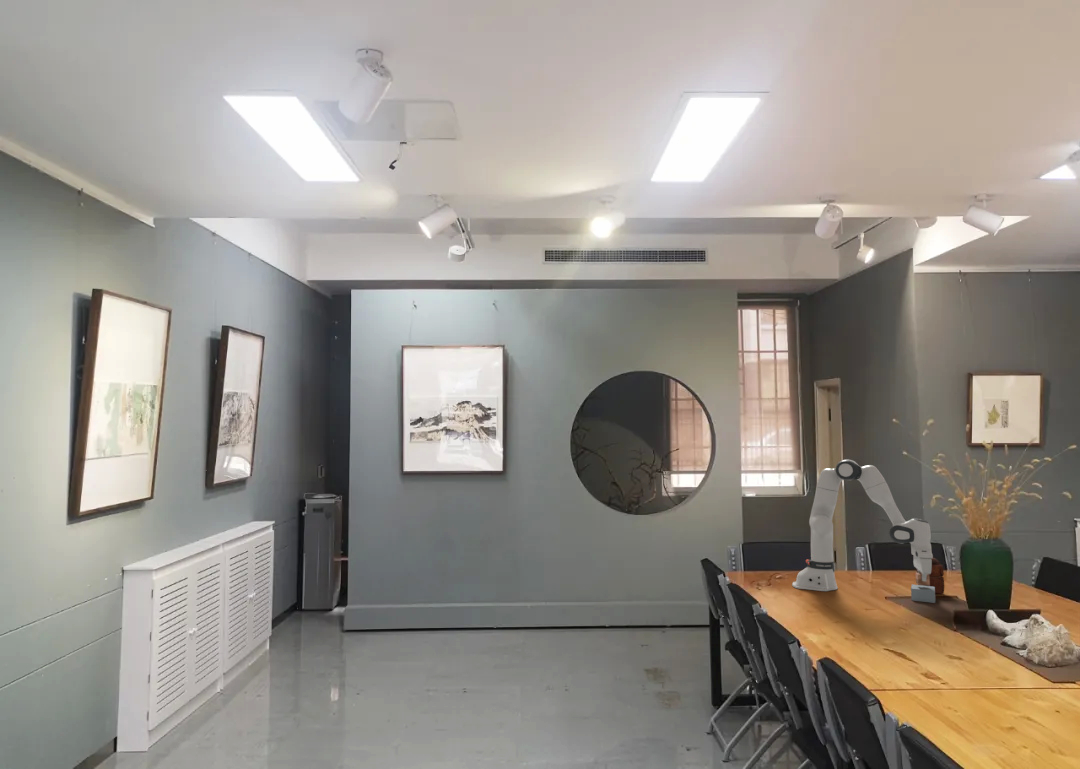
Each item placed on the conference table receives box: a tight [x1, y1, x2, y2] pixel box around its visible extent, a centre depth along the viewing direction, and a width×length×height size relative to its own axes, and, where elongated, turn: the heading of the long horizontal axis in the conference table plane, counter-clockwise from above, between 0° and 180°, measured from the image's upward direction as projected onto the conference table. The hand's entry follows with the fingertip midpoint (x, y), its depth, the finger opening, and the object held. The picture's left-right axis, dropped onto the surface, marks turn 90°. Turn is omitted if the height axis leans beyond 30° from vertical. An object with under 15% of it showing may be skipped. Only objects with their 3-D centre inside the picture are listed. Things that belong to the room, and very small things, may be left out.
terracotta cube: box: [915, 572, 930, 586], centre depth 328 cm, size 5×5×5 cm
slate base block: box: [910, 583, 936, 604], centre depth 327 cm, size 10×10×6 cm
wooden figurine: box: [916, 557, 945, 595], centre depth 341 cm, size 12×6×18 cm, turn 72°
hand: (922, 579), depth 327 cm, fingers closed on terracotta cube, 5 cm apart
